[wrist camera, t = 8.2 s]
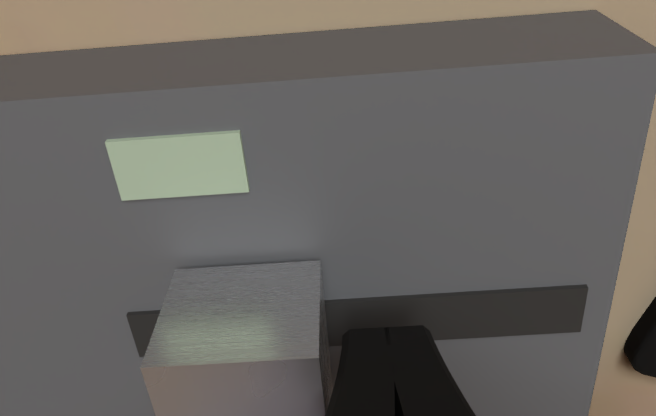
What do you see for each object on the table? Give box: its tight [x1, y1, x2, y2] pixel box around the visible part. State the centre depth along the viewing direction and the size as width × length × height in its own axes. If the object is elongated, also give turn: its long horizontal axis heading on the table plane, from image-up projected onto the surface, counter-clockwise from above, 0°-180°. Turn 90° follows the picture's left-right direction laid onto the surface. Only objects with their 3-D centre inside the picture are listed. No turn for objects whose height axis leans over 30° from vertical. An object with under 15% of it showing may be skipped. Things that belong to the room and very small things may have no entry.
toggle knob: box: [140, 260, 333, 416], centre depth 10 cm, size 2×3×2 cm
